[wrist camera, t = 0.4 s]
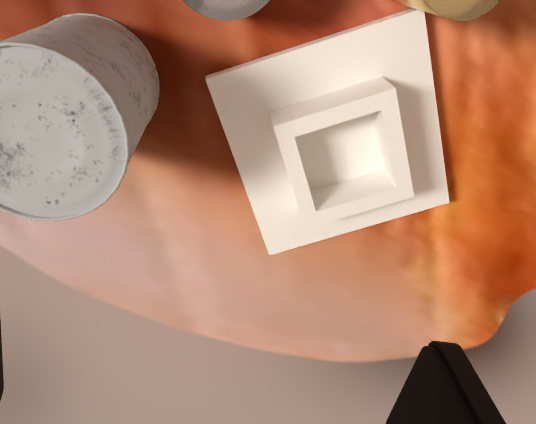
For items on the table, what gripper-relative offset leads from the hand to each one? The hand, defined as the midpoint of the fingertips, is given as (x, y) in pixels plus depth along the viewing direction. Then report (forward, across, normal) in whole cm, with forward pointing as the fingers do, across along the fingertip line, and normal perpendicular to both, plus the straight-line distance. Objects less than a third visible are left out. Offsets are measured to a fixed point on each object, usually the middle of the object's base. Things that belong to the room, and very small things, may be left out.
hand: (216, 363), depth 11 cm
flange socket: (+28, -9, +3) cm, 30 cm away
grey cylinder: (+29, +9, +2) cm, 30 cm away
